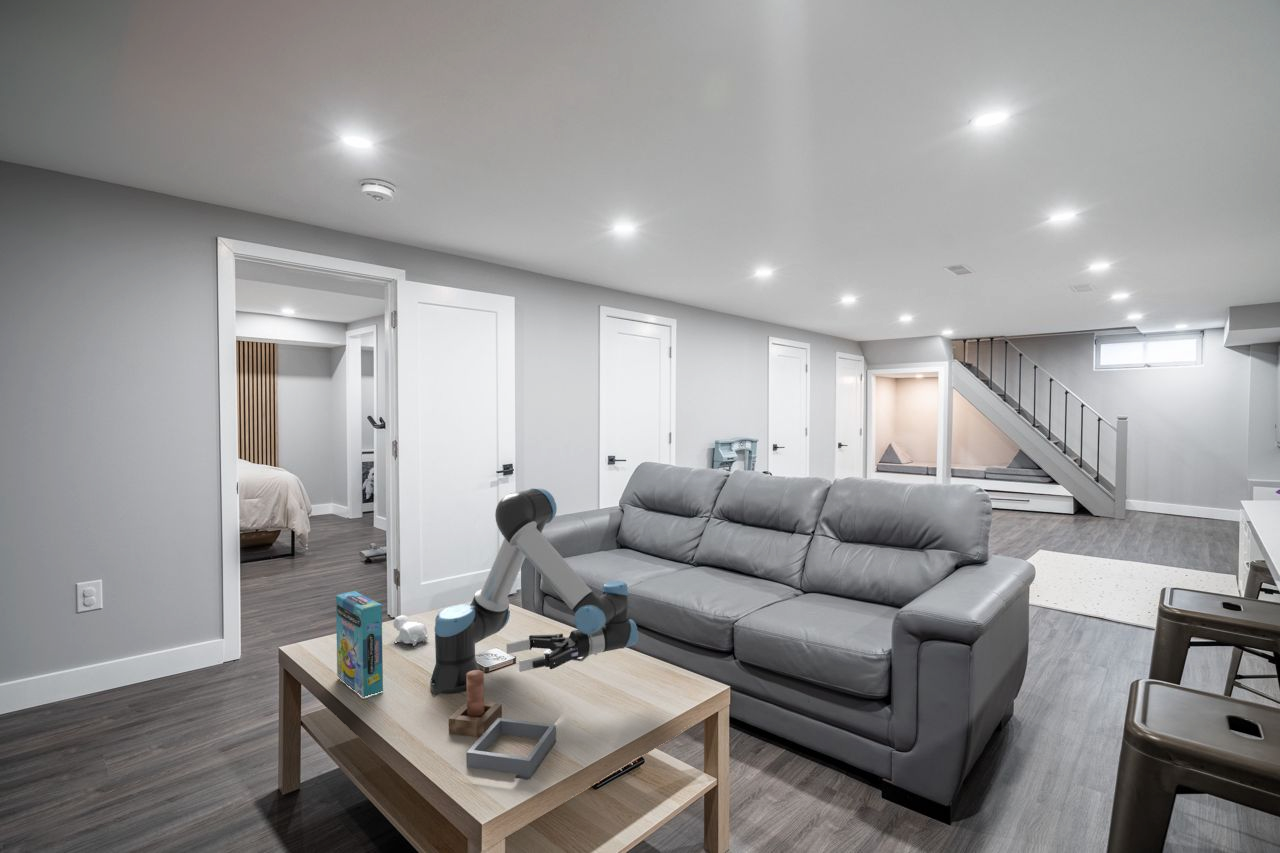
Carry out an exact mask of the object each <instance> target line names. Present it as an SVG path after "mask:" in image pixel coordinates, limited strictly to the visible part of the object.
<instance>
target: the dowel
mask: <svg viewBox="0 0 1280 853" xmlns="http://www.w3.org/2000/svg"><path fill="white" fill-rule="evenodd" d="M484 676H485V672H484V671H483V670H481V669H479V670H473V671H470V672H468V673H467V674H466V680H467V691H466V702H467V716H469V717H478V718H481V717H482V716H483V715H484V702H485V683H484V681H485V678H484Z"/></svg>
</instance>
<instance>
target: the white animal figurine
mask: <svg viewBox="0 0 1280 853" xmlns="http://www.w3.org/2000/svg"><path fill="white" fill-rule="evenodd" d="M393 628H394V629H396V631H399V633H398V634H399V635H398V636H397V637H396V638H395V640H394V641H396V642H399V643H400V642H403V643H404V644H411V645H412V647H413V646H414V645H417V644H418V643H417V642H419V643H420V642H424V641H427V642H428V641H429V640H428V638H429V634H428V631H427V627H426V625H425V624H423V623H420V622H415V621H410V620H409V618H408V616H407V615H398V616H396V617H395V618H394V620H393Z"/></svg>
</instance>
